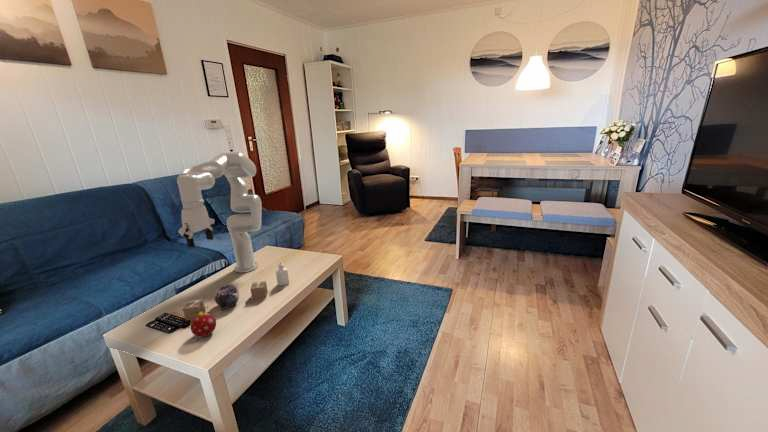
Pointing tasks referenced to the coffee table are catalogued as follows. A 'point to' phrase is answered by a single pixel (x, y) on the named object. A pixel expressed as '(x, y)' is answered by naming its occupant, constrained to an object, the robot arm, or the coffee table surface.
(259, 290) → the walnut block
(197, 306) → the brown cube
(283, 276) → the eye dropper bottle
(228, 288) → the mineral specimen
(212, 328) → the christmas ornament
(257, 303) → the coffee table surface
